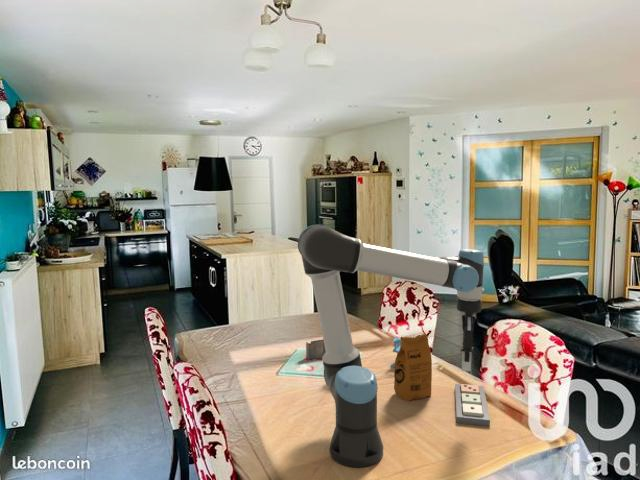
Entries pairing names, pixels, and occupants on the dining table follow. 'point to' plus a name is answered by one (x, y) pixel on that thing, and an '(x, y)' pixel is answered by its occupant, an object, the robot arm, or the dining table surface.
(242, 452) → the dining table surface
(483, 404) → the tile tray
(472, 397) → the tile two
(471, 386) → the tile three
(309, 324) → the dining table surface
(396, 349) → the chair
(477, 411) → the tile one
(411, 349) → the coffee package
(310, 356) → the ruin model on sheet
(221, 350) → the dining table surface
